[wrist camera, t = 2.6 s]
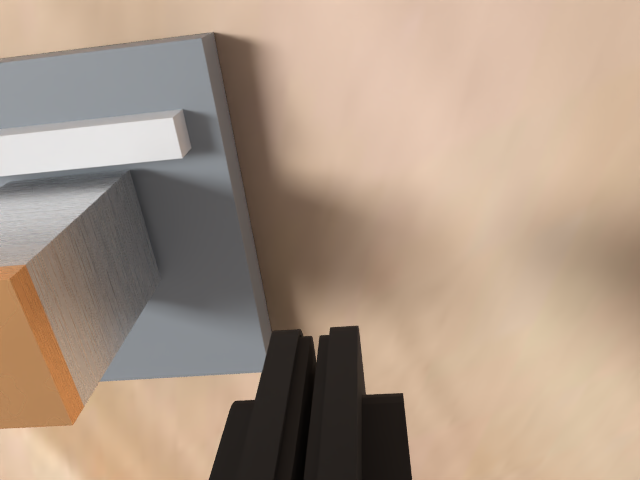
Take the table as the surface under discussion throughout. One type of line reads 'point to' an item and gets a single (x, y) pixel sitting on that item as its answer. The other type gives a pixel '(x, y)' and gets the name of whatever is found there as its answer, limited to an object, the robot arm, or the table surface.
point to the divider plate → (153, 188)
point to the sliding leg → (67, 290)
